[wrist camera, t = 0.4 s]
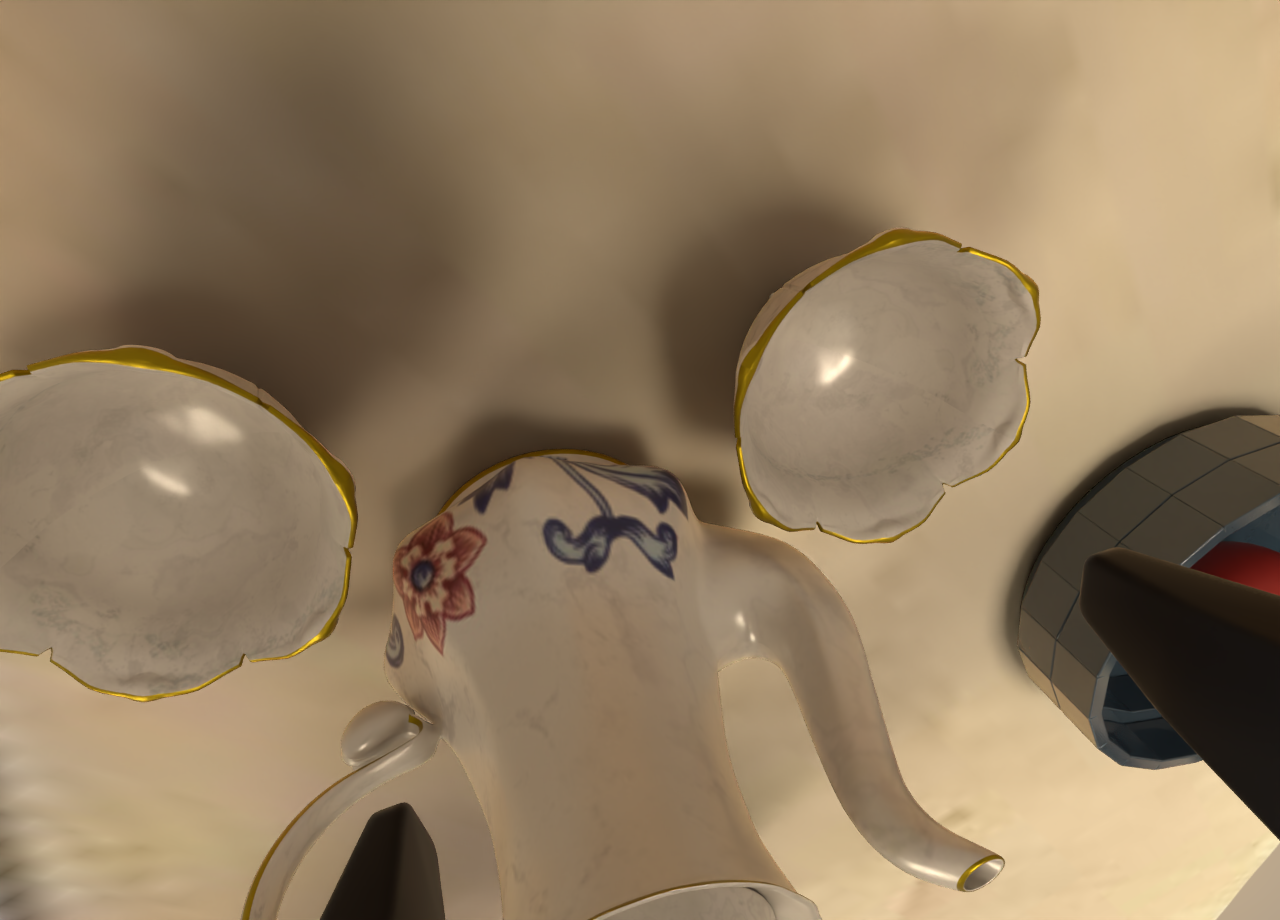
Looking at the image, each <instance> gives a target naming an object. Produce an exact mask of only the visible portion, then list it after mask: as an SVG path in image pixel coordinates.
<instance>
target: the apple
mask: <svg viewBox="0 0 1280 920" xmlns="http://www.w3.org/2000/svg"><path fill="white" fill-rule="evenodd" d="M1190 568H1191V569H1194V570H1197V571H1200V572H1204V573H1207V574H1210V575H1214V576H1217V577H1220V578H1223V579H1227V580H1230V581H1233V582H1236V583H1240V584H1243V585H1246V586H1250V587H1253V588H1256V589H1259V590H1263V591H1266V592H1269V593H1272V594H1276V595H1279V596H1280V553H1279V552H1277V551H1274V550H1272V549H1269V548H1266V547H1263V546H1259V545H1255V544H1251V543H1244V542H1235V541H1221V542H1220V543H1219V544H1217V545H1216V546H1215V547H1214V548H1213V549H1211V550H1210V551H1209V552H1208V553H1207V554H1206V555H1204V556H1203V557H1202V558H1201V559H1200V560H1199V561H1197V562H1196V563H1195V564H1194V565H1193V566H1192V567H1190Z"/></svg>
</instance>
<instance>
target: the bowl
mask: <svg viewBox="0 0 1280 920" xmlns="http://www.w3.org/2000/svg"><path fill="white" fill-rule="evenodd" d="M1221 541H1235V542H1244V543H1251V544H1255V545H1259V546H1263V547H1266V548H1269V549H1272V550H1274V551H1277V552H1279V553H1280V415H1255V416H1232V417H1229V418H1226V419H1223V420H1220V421H1217V422H1214V423H1211V424H1208V425H1205V426H1202V427H1198V428H1194V429H1191V430H1187V431H1184V432H1182V433H1179V434H1177V435H1174V436H1172V437H1169V438H1167V439H1165V440H1163V441H1161V442H1159V443H1157V444H1155V445H1153V446H1151V447H1149V448H1147V449H1145V450H1144V451H1142V452H1140V453H1139V454H1137V455H1136V456H1134V457H1132V458H1131V459H1129V460H1128V461H1126V462H1125V463H1123V464H1122V465H1121V466H1119V467H1118V468H1117V469H1115V470H1114V471H1113V472H1111V473H1110V474H1109V475H1107V476H1106V477H1105V478H1104V479H1103V480H1102V481H1100V482H1099V483H1098V484H1097V485H1096V486H1095V487H1094V488H1092V489H1091V490H1090V491H1089V492H1088V493H1087V494H1086V495H1085V496H1084V497H1083V498H1082V499H1081V500H1080V501H1079V502H1078V503H1077V504H1076V505H1075V506H1074V507H1073V509H1072V510H1071V511H1070V512H1069V513H1068V514H1067V516H1066V517H1065V518H1064V519H1063V520H1062V522H1061V523H1060V524H1059V525H1058V527H1057V528H1056V530H1055V531H1054V532H1053V534H1052V535H1051V537H1050V538H1049V540H1048V541H1047V542H1046V544H1045V546H1044V548H1043V549H1042V551H1041V553H1040V554H1039V556H1038V558H1037V560H1036V562H1035V564H1034V566H1033V568H1032V571H1031V573H1030V575H1029V577H1028V580H1027V583H1026V587H1025V590H1024V593H1023V598H1022V603H1021V609H1020V623H1019V632H1018V642H1017V645H1018V646H1017V647H1018V650H1019V653H1020V655H1021V658H1022V661H1023V664H1024V666H1025V669H1026V672H1027V674H1028V676H1029V678H1030V679H1031V680H1032V681H1033V682H1034V683H1035V684H1036V685H1037V686H1038V687H1039V688H1040V689H1041V690H1042V691H1043V692H1044V693H1045V694H1046V695H1047V696H1048V697H1049V698H1050V700H1051V701H1052V702H1053V703H1054V704H1055V705H1056V706H1057V707H1058V708H1059V709H1060V710H1061V711H1062V712H1063V713H1064V714H1065V715H1066V716H1067V717H1068V718H1069V719H1070V720H1071V722H1072V723H1073V724H1074V725H1075V726H1076V727H1077V728H1078V729H1079V730H1080V731H1081V732H1082V733H1083V734H1084V735H1085V736H1086V737H1087V738H1088V739H1089V740H1090V741H1091V742H1092V743H1093V745H1094V746H1095V747H1096V748H1097V749H1099V750H1100V751H1101V752H1103V753H1104V754H1105V755H1107V756H1108V757H1110V758H1111V759H1112V760H1114V761H1115V762H1116V763H1118V764H1119V765H1122V766H1128V767H1135V768H1143V769H1151V770H1158V769H1164V768H1169V767H1175V766H1180V765H1185V764H1191V763H1196V762H1199V761H1202V760H1203V759H1202V758H1201V757H1200V756H1199V755H1198V754H1197V753H1196V752H1195V751H1194V750H1193V749H1192V748H1191V747H1190V746H1189V745H1188V744H1187V743H1186V742H1185V740H1184V739H1183V738H1182V737H1181V736H1180V735H1179V734H1178V733H1177V732H1176V731H1175V730H1174V729H1173V728H1172V727H1171V725H1170V724H1169V723H1168V722H1167V721H1166V720H1165V719H1164V718H1163V717H1162V715H1161V714H1160V713H1159V712H1158V711H1157V709H1156V708H1155V707H1154V706H1153V705H1152V703H1151V702H1150V701H1149V700H1148V699H1147V697H1146V696H1145V695H1144V693H1143V692H1142V691H1141V690H1140V688H1139V687H1138V686H1137V685H1136V683H1135V682H1134V681H1133V680H1132V678H1131V677H1130V676H1129V674H1128V673H1127V672H1126V671H1125V669H1124V668H1123V667H1122V666H1121V664H1120V663H1119V662H1118V661H1117V659H1116V658H1115V657H1114V656H1113V654H1112V653H1111V652H1110V650H1109V649H1108V648H1107V647H1106V645H1105V644H1104V643H1103V642H1102V640H1101V639H1100V638H1099V637H1098V635H1097V634H1096V633H1095V631H1094V630H1093V629H1092V628H1091V626H1090V625H1089V624H1088V623H1087V621H1086V620H1085V618H1084V616H1083V615H1082V612H1081V610H1080V606H1079V596H1080V589H1081V582H1082V575H1083V568H1084V563H1085V561H1086V560H1087V558H1088V557H1089V556H1091V555H1094V554H1096V553H1099V552H1102V551H1105V550H1108V549H1111V548H1117V547H1119V548H1125V549H1128V550H1132V551H1135V552H1138V553H1142V554H1145V555H1148V556H1151V557H1155V558H1158V559H1161V560H1164V561H1168V562H1171V563H1174V564H1178V565H1181V566H1184V567H1187V568H1190V567H1192V566H1193V565H1194V564H1195V563H1196V562H1197V561H1199V560H1200V559H1201V558H1202V557H1203V556H1204V555H1206V554H1207V553H1208V552H1209V551H1210V550H1211V549H1213V548H1214V547H1215V546H1216V545H1217V544H1219V543H1220V542H1221Z"/></svg>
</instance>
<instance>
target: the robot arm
mask: <svg viewBox="0 0 1280 920" xmlns="http://www.w3.org/2000/svg"><path fill="white" fill-rule="evenodd" d="M1079 606H1080V610H1081V612H1082V615H1083V616H1084V618H1085V620H1086V621H1087V623H1088V624H1089V625H1090V626H1091V628H1092V629H1093V630H1094V631H1095V633H1096V634H1097V635H1098V637H1099V638H1100V639H1101V640H1102V642H1103V643H1104V644H1105V645H1106V647H1107V648H1108V649H1109V650H1110V652H1111V653H1112V654H1113V656H1114V657H1115V658H1116V659H1117V661H1118V662H1119V663H1120V664H1121V666H1122V667H1123V668H1124V669H1125V671H1126V672H1127V673H1128V674H1129V676H1130V677H1131V678H1132V680H1133V681H1134V682H1135V683H1136V685H1137V686H1138V687H1139V688H1140V690H1141V691H1142V692H1143V693H1144V695H1145V696H1146V697H1147V699H1148V700H1149V701H1150V702H1151V703H1152V705H1153V706H1154V707H1155V708H1156V709H1157V711H1158V712H1159V713H1160V714H1161V715H1162V717H1163V718H1164V719H1165V720H1166V721H1167V722H1168V723H1169V724H1170V725H1171V727H1172V728H1173V729H1174V730H1175V731H1176V732H1177V733H1178V734H1179V735H1180V736H1181V737H1182V738H1183V739H1184V740H1185V742H1186V743H1187V744H1188V745H1189V746H1190V747H1191V748H1192V749H1193V750H1194V751H1195V752H1196V753H1197V754H1198V755H1199V756H1200V757H1201V758H1202V759H1203V760H1204V761H1205V763H1206V764H1207V765H1208V766H1209V767H1210V768H1211V769H1212V770H1213V771H1214V772H1215V773H1216V774H1217V775H1218V776H1219V777H1220V778H1221V779H1222V780H1223V781H1224V782H1225V784H1226V785H1227V786H1228V787H1229V788H1230V789H1231V790H1232V791H1233V792H1234V793H1235V794H1236V795H1237V796H1238V797H1239V798H1240V799H1241V800H1242V801H1243V802H1244V803H1245V805H1246V806H1247V807H1248V808H1249V809H1250V810H1251V811H1252V812H1253V813H1254V814H1255V815H1256V816H1257V817H1258V818H1259V819H1260V820H1261V821H1262V822H1263V823H1264V824H1265V825H1266V827H1267V828H1268V829H1269V830H1270V831H1271V832H1272V833H1273V834H1274V835H1275V836H1276V837H1277V838H1278V839H1279V840H1280V596H1279V595H1276V594H1272V593H1269V592H1266V591H1263V590H1259V589H1256V588H1253V587H1250V586H1246V585H1243V584H1240V583H1236V582H1233V581H1230V580H1227V579H1223V578H1220V577H1217V576H1214V575H1210V574H1207V573H1204V572H1200V571H1197V570H1194V569H1191V568H1187V567H1184V566H1181V565H1178V564H1174V563H1171V562H1168V561H1164V560H1161V559H1158V558H1155V557H1151V556H1148V555H1145V554H1142V553H1138V552H1135V551H1132V550H1128V549H1125V548H1119V547H1117V548H1111V549H1108V550H1105V551H1102V552H1099V553H1096V554H1094V555H1091V556H1089V557H1088V558H1087V560H1086V561H1085V563H1084V568H1083V575H1082V582H1081V589H1080V596H1079ZM320 920H445V913H444V905H443V897H442V889H441V881H440V873H439V865H438V858H437V853H436V849H435V846H434V843H433V841H432V839H431V837H430V835H429V834H428V832H427V830H426V829H425V827H424V826H423V824H422V822H421V821H420V819H419V817H418V816H417V814H416V813H415V811H414V809H413V808H412V807H411V806H410V805H409V804H408V803H405V802H404V803H399V804H396V805H394V806H391V807H388V808H385V809H383V810H380V811H378V812H376V813H374V814H373V815H372V816H371V817H370V819H369V820H368V822H367V824H366V826H365V828H364V830H363V832H362V834H361V836H360V838H359V840H358V842H357V844H356V846H355V849H354V851H353V853H352V855H351V857H350V859H349V861H348V863H347V865H346V867H345V869H344V871H343V873H342V875H341V877H340V879H339V881H338V883H337V885H336V888H335V890H334V892H333V894H332V896H331V898H330V900H329V902H328V904H327V906H326V908H325V910H324V912H323V914H322V916H321V918H320Z"/></svg>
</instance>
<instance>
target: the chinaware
mask: <svg viewBox="0 0 1280 920" xmlns="http://www.w3.org/2000/svg"><path fill="white" fill-rule="evenodd" d="M961 246H962V244H961V243H959V242H957V241H955V240H952V239H950V238H948V237H946V236H944V235H941V234H938V233H935V232H928V231H915V230H911V229H909V228H893V229H889V230H886V231H883V232H881V233H879V234H877V235H875V236H874V237H873V238H872V239H871V240H870V241H869V242H867V243H866V244H864V245H862V246H860V247H858V248H856V249H855V250H853V251H851V252H850V253H848V254H843V255H840V256H837V257H833V258H830V259H827V260H825V261H822V262H820V263H818V264H816V265H814V266H812V267H809V268H808V269H806V270H804V271H803V272H801V273H800V274H798V275H796V276H795V277H794V278H792V279H791V280H789V281H788V282H787V283H785V284H784V285H783V288H780V289H778V290H777V291H776V292H774V293H772V294H771V295H770V296H769V300H768V302H767V303H766V304H765V305H764V307H763V308H762V309H761V310H760V312H759V313H758V315H757V317H756V318H755V320H754V321H753V323H752V325H751V327H750V329H749V331H748V333H747V335H746V337H745V340H744V343H743V346H742V349H741V351H740V356H739V360H738V364H737V369H736V380H735V397H734V429H735V438H737V444H736V450H737V456H738V462H739V468H740V474H741V479H742V484H743V487H744V490H745V492H746V494H747V497H748V499H749V506H750V508H751V510H752V512H753V514H754V515H755V516H756V517H757V518H758V519H760V520H761V521H763V522H766V523H770V524H773V525H775V526H777V527H779V528H781V529H783V530H785V531H789V532H795V531H804V530H814V529H815V528H816V524H817V525H818V527H819V529H820V531H821V532H824V533H827V534H829V535H832V536H835V537H838V538H840V539H843V540H845V541H849V542H852V543H858V544H867V543H892V542H894V541H896V540H897V539H899V538H900V537H902V536H903V535H904V534H906V533H908V532H910V531H912V530H914V529H915V528H917V527H919V526H920V525H921V524H922V523H924V522H925V521H926V520H927V518H928V517H929V516H930V514H931V513H932V511H933V510H934V508H935V507H936V505H937V504H938V503H939V501H940V500H941V499H942V497H943V496H944V495H945V491H944V488H943V484H946V485H948V486H951V487H955V486H957V485H959V484H961V483H963V482H965V481H968V480H970V479H972V478H975V477H977V476H980V475H982V474H984V473H986V472H988V471H989V470H990V469H992V468H993V467H994V466H995V465H996V464H997V463H998V462H999V461H1000V460H1001V459H1002V458H1003V457H1004V456H1005V455H1006V453H1007V452H1008V451H1010V450H1011V449H1012V448H1013V447H1014V446H1015V445H1016V444H1017V443H1018V442H1019V440H1020V437H1021V435H1022V429H1023V425H1024V423H1025V420H1026V417H1027V414H1028V411H1029V407H1030V392H1029V386H1028V380H1027V372H1026V365H1025V364H1024V363H1022V362H1020V361H1018V360H1017V358H1023V357H1026V356H1027V354H1028V352H1029V349H1030V347H1031V345H1032V342H1033V340H1034V338H1035V337H1036V335H1037V332H1038V330H1039V328H1040V321H1041V317H1040V308H1039V290H1038V286H1037V284H1036V283H1035V282H1034V280H1033V279H1031V278H1030V277H1029V276H1028V275H1026V274H1023V273H1022V272H1021V271H1020V270H1019V269H1018V268H1017V267H1015V266H1014V265H1013V264H1011V263H1010V262H1008V261H1007V260H1004V259H1002V258H999V257H997V256H994V255H991V254H988V253H986V252H983V251H980V250H977V249H974V248H971V247H966V248H961ZM27 368H28V370H11V371H7V372H4V373H1V374H0V652H8V653H17V654H24V655H30V656H39V655H40V654H42V653H43V652H44V651H46V650H48V649H50V648H51V652H52V653H51V657H50V662H51V663H53V664H54V665H56V666H58V667H59V668H61V669H62V670H63V671H65V672H66V673H68V674H69V675H70V676H72V677H73V678H74V679H75V680H77V681H78V682H79V683H81V684H82V685H84V686H85V687H87V688H88V689H91V690H94V691H97V692H99V693H104V694H109V695H114V696H120V697H125V698H128V699H131V700H134V701H139V702H149V701H154V700H158V699H161V698H165V697H172V696H177V695H183V694H188V693H191V692H194V691H198V690H200V689H202V688H204V687H206V686H208V685H209V684H211V683H213V682H214V681H216V680H218V679H219V678H221V677H223V676H224V675H226V674H228V673H230V672H232V671H233V670H235V669H237V668H239V667H241V666H242V663H243V659H244V656H245V655H246V656H247V657H248V659H249V661H250V662H258V661H266V660H280V659H287V658H290V657H293V656H295V655H297V654H299V653H301V652H302V651H304V650H306V649H307V648H309V647H310V646H312V645H314V644H316V643H318V642H321V641H323V640H324V639H326V638H327V637H329V636H330V635H331V633H332V632H333V630H334V629H335V627H336V625H337V623H338V617H339V615H340V613H341V611H342V609H343V607H344V604H345V602H346V599H347V595H348V589H349V580H350V570H351V560H352V556H351V554H350V552H349V550H348V548H353V545H354V540H355V534H356V529H357V522H358V513H357V505H356V499H355V490H356V486H355V481H354V478H353V476H352V473H351V472H350V470H349V469H348V467H347V466H346V465H345V464H344V462H343V461H342V460H341V459H339V458H337V457H335V456H334V455H332V454H331V453H330V452H329V451H328V450H327V449H326V448H325V447H324V446H323V445H322V444H321V443H320V442H319V441H318V440H317V439H316V438H315V437H314V436H312V435H311V434H310V433H309V432H307V431H306V430H305V429H303V427H302V426H301V425H300V424H299V423H298V421H297V420H296V419H295V418H294V417H293V416H292V414H291V413H290V412H289V411H288V410H287V409H286V408H284V407H283V406H282V405H281V404H280V403H279V402H278V401H277V400H275V399H274V398H273V397H272V396H271V395H269V394H268V393H267V392H266V391H264V390H263V389H257V386H256V385H255V384H253V383H251V382H249V381H247V380H245V379H243V378H241V377H239V376H237V375H234V374H232V373H230V372H227V371H225V370H223V369H220V368H216V367H213V366H210V365H207V364H203V363H199V362H194V361H189V360H184V359H179V358H176V357H174V356H173V355H171V354H170V353H169V352H167V351H165V350H161V349H158V348H154V347H149V346H142V345H123V346H119V347H117V348H113V349H104V350H90V351H82V352H75V353H71V354H67V355H62V356H59V357H55V358H52V359H48V360H44V361H41V362H37V363H34V364H30V365H27ZM393 583H394V594H393V609H392V619H391V627H390V633H389V637H388V641H387V645H386V649H385V653H384V671H385V675H386V678H387V680H388V682H389V684H390V685H391V687H392V688H393V689H394V690H395V692H396V693H397V694H398V695H399V696H400V698H401V699H402V700H403V701H404V702H405V703H407V704H408V705H409V706H410V707H409V706H407V705H404V704H401V703H399V702H395V701H379V702H375V703H372V704H370V705H368V706H366V707H365V708H363V709H362V710H361V711H359V712H358V713H357V714H356V715H355V716H354V717H353V718H352V719H351V721H350V722H349V723H348V725H347V727H346V728H345V730H344V733H343V735H342V739H341V758H342V760H343V762H344V763H345V764H347V765H349V766H352V768H353V770H354V772H352V773H350V774H348V775H347V776H345V777H343V778H342V779H340V780H339V781H337V782H336V783H334V784H333V785H331V786H330V787H329V788H327V789H326V790H325V791H323V792H322V793H321V794H320V795H318V796H317V797H316V798H315V799H314V800H313V801H312V802H310V803H309V804H308V805H307V806H306V807H305V808H304V809H303V810H302V811H301V812H300V813H299V814H298V815H297V816H296V817H295V818H294V820H293V821H292V822H291V823H290V824H289V825H288V826H287V828H286V829H285V830H284V831H283V832H282V834H281V835H280V836H279V838H278V839H277V840H276V842H275V843H274V845H273V846H272V848H271V849H270V851H269V852H268V854H267V855H266V857H265V859H264V860H263V862H262V864H261V866H260V867H259V869H258V871H257V873H256V875H255V877H254V880H253V882H252V884H251V887H250V889H249V892H248V895H247V897H246V900H245V904H244V907H243V911H242V915H241V919H240V920H277V916H278V912H279V909H280V906H281V903H282V900H283V898H284V895H285V893H286V890H287V888H288V886H289V884H290V882H291V880H292V878H293V876H294V874H295V872H296V870H297V869H298V867H299V865H300V864H301V862H302V860H303V859H304V857H305V856H306V854H307V853H308V852H309V850H310V849H311V848H312V846H313V845H314V844H315V842H316V841H317V840H318V839H319V838H320V836H321V835H322V834H323V833H324V832H325V831H326V830H327V829H328V828H329V827H330V826H331V824H332V823H333V822H334V821H335V820H337V819H338V818H339V817H340V816H341V815H342V814H343V813H344V812H345V811H346V810H348V809H349V808H350V807H351V806H353V805H354V804H355V803H356V802H358V801H359V800H360V799H362V798H363V797H365V796H366V795H368V794H369V793H370V792H372V791H373V790H375V789H377V788H378V787H380V786H381V785H383V784H385V783H386V782H388V781H390V780H392V779H394V778H396V777H398V776H400V775H403V774H405V773H407V772H409V771H411V770H414V769H416V768H418V767H420V766H422V765H423V764H425V763H426V762H428V761H429V760H430V759H431V758H432V757H433V756H434V754H435V752H436V749H437V745H438V742H439V740H440V739H443V740H444V741H445V742H446V743H447V744H448V745H449V746H450V748H451V749H452V750H453V752H454V753H455V754H456V756H457V758H458V759H459V761H460V763H461V764H462V766H463V768H464V770H465V772H466V774H467V776H468V778H469V780H470V782H471V784H472V787H473V789H474V791H475V793H476V796H477V798H478V800H479V803H480V805H481V808H482V810H483V813H484V815H485V818H486V821H487V824H488V827H489V830H490V834H491V837H492V842H493V846H494V851H495V856H496V862H497V868H498V875H499V882H500V890H501V900H502V912H503V920H822V919H821V917H820V914H819V911H818V908H817V906H816V905H815V903H814V902H812V901H811V900H810V899H808V898H806V897H804V896H802V895H800V894H798V893H797V892H796V890H795V889H794V888H793V886H792V885H791V883H790V882H789V881H788V879H787V878H786V876H785V875H784V874H783V872H782V871H781V869H780V868H779V866H778V865H777V864H776V862H775V861H774V859H773V858H772V856H771V855H770V853H769V852H768V850H767V849H766V847H765V846H764V844H763V842H762V841H761V839H760V837H759V835H758V833H757V831H756V829H755V827H754V825H753V822H752V820H751V817H750V815H749V813H748V810H747V807H746V805H745V802H744V800H743V797H742V794H741V791H740V789H739V786H738V783H737V780H736V777H735V774H734V771H733V768H732V764H731V761H730V756H729V752H728V748H727V742H726V737H725V730H724V724H723V716H722V708H721V700H720V690H719V681H718V672H719V671H721V670H722V669H723V668H725V667H727V666H729V665H731V664H733V663H735V662H737V661H740V660H743V659H746V658H762V659H765V660H768V661H771V662H773V663H774V664H776V665H777V666H778V667H780V669H781V670H782V671H783V673H784V674H785V676H786V678H787V680H788V682H789V684H790V686H791V688H792V690H793V692H794V695H795V697H796V700H797V702H798V705H799V707H800V710H801V713H802V715H803V718H804V721H805V723H806V726H807V728H808V731H809V733H810V736H811V738H812V741H813V743H814V746H815V748H816V751H817V753H818V755H819V758H820V760H821V762H822V765H823V767H824V769H825V772H826V774H827V776H828V779H829V781H830V783H831V785H832V787H833V789H834V792H835V793H836V795H837V797H838V799H839V801H840V803H841V805H842V807H843V808H844V810H845V812H846V813H847V815H848V817H849V818H850V820H851V821H852V823H853V824H854V825H855V827H856V828H857V829H858V831H859V832H860V833H861V835H862V836H863V837H864V838H865V839H866V840H867V842H868V843H869V844H870V845H871V846H872V847H873V848H874V849H875V850H876V851H877V852H879V853H880V854H881V855H882V856H883V857H884V858H886V859H887V860H888V861H889V862H891V863H892V864H893V865H895V866H896V867H898V868H899V869H901V870H902V871H904V872H906V873H908V874H910V875H912V876H914V877H916V878H919V879H921V880H924V881H926V882H929V883H932V884H935V885H939V886H942V887H946V888H949V889H953V890H958V891H963V892H972V891H975V890H978V889H980V888H982V887H984V886H986V885H987V884H989V883H990V882H991V881H992V880H994V879H995V878H996V877H997V876H998V875H999V873H1000V872H1001V871H1002V869H1003V867H1004V864H1005V861H1004V859H1003V858H1002V857H1001V856H999V855H998V854H996V853H994V852H992V851H990V850H988V849H986V848H984V847H982V846H980V845H977V844H975V843H973V842H971V841H969V840H967V839H965V838H963V837H961V836H959V835H957V834H955V833H953V832H951V831H950V830H948V829H946V828H945V827H943V826H942V825H940V824H939V823H938V822H936V821H935V820H934V819H933V818H931V817H930V816H929V815H928V814H927V813H926V812H925V811H924V810H923V809H922V808H921V807H920V806H919V804H918V803H917V802H916V801H915V799H914V798H913V796H912V795H911V793H910V792H909V790H908V788H907V787H906V785H905V783H904V781H903V778H902V776H901V773H900V770H899V767H898V764H897V761H896V758H895V755H894V752H893V748H892V745H891V741H890V738H889V735H888V731H887V728H886V724H885V721H884V718H883V714H882V711H881V707H880V704H879V700H878V697H877V693H876V690H875V687H874V683H873V680H872V676H871V672H870V669H869V665H868V661H867V658H866V654H865V650H864V647H863V644H862V641H861V638H860V635H859V632H858V629H857V627H856V624H855V622H854V619H853V617H852V615H851V613H850V612H849V610H848V608H847V606H846V604H845V603H844V601H843V600H842V598H841V596H840V595H839V594H838V592H837V591H836V590H835V588H834V587H833V585H832V584H831V583H830V582H829V580H828V579H827V578H826V577H825V575H824V574H823V573H822V572H821V571H820V570H819V569H818V568H817V567H816V565H815V564H814V563H812V562H811V561H810V560H809V559H808V558H807V557H806V556H805V555H804V554H802V553H801V552H800V551H798V550H797V549H796V548H794V547H792V546H790V545H789V544H787V543H785V542H783V541H780V540H778V539H775V538H773V537H769V536H766V535H763V534H759V533H754V532H750V531H745V530H740V529H735V528H730V527H725V526H719V525H714V524H709V523H704V522H701V521H699V520H698V519H697V517H696V516H695V514H694V512H693V509H692V507H691V504H690V501H689V498H688V496H687V494H686V491H685V489H684V487H683V485H682V484H681V482H680V481H679V479H678V478H677V477H676V476H675V475H674V474H672V473H671V472H670V471H668V470H666V469H662V468H659V467H656V466H646V465H627V464H626V463H624V462H622V461H620V460H617V459H615V458H612V457H610V456H607V455H604V454H600V453H596V452H591V451H585V450H577V449H549V450H541V451H535V452H530V453H526V454H522V455H519V456H515V457H512V458H510V459H507V460H504V461H502V462H500V463H497V464H495V465H493V466H491V467H490V468H488V469H486V470H484V471H482V472H481V473H479V474H478V475H476V476H475V477H473V478H472V479H471V480H469V481H468V482H467V483H465V484H464V485H463V486H462V487H461V488H460V489H458V490H457V491H456V492H455V493H454V494H453V495H452V497H451V498H450V499H449V500H448V501H447V502H446V503H445V505H444V506H443V507H442V509H441V510H440V512H439V513H438V515H437V516H436V517H435V518H433V519H432V520H430V521H428V522H426V523H425V524H423V525H422V526H420V527H419V528H417V529H415V530H414V531H413V532H411V533H410V534H409V535H407V536H406V537H405V538H404V539H403V541H402V542H401V543H400V544H399V545H398V547H397V550H396V552H395V554H394V557H393ZM413 709H414V710H415V711H416V712H417V713H419V714H420V715H421V716H423V717H424V718H425V719H427V720H428V721H430V722H431V723H432V724H431V723H429V722H427V721H425V720H423V719H421V718H420V717H418V716H416V715H415V712H414V710H413Z"/></svg>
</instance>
